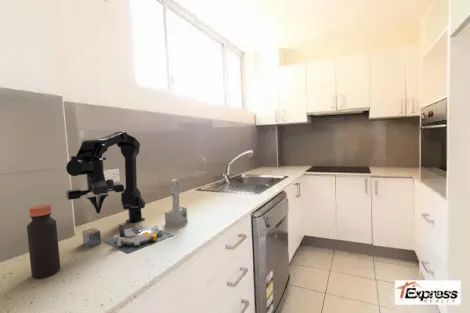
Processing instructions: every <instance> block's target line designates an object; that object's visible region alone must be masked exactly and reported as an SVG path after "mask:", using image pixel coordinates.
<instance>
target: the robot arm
mask: <svg viewBox="0 0 470 313" xmlns="http://www.w3.org/2000/svg"><path fill="white" fill-rule="evenodd" d="M114 145H116V146H117V147H118V148H119V149H120V153H121V155H122V156H123V157H124V172H125V173H124V175H125V176H124V177H125V178H124V179H125V185H124V184H122V183H114V179H112V178H110V179H106V178H105V174H104V173H105V171H104V170H105V169H104V161H106V160H107V158H106V157H105V156H104V155H103V154H105V153H106V152H108V150H109V149H108V148H110V147H112V146H114ZM140 148H141V143H140V142H139V140H138V139H137V138H136V137H134V136H131V135H130V134H128V133H127V132H126V131H116V132H114V133H111V134H108V135H107V136H104V137H101V138H97V139H95V138H94V139H87V140H86V139H85V140H83V141H82V142H81V145H80V147H79V149H78V152H77V153H76V155H73V156H70V160H69V161H68V162H67V164H66V166H65V168H66V169H65V170H66V172H67V173H68V174H69V176H72V177H79V176H85V175H86V186H87V189H85V190H81V189H80V188H76V189H75V188H74V189H67V190H66V191H65V195H66V196H65V198H66V199H67V200H69V201H70V200H77V199H80V198H81V197H82V196H84V198H85V199H86V200H89V202H90V203H91V205H92V207H93V209H94V211H95V213H96V214H97V215H98V214H100V213H101V211H102V210H101V209H102V206H103V205H104V204H103V203H104V201H105V199H106V197H109V195H110V194H109V192H115V193H120V194H121V200H120V201H121V205H122V208H123V210H128V219H126V220H125V222H128V223H131V224H135V223H138V222H141V221H145V220H146V219H145V218H144V217H142V209H145V207H146V202H145V201H144V199H143V198H142V194H141V191H140V190H139V188H138V187H137V186H138V182H137V157H138V155H139V154H140Z"/></svg>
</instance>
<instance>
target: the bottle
mask: <svg viewBox="0 0 470 313" xmlns="http://www.w3.org/2000/svg"><path fill="white" fill-rule="evenodd" d="M51 215H52V206H51V204H42V205H41V204H40V205H36V206H32V207H30V208H29V217H30V219H31V221H30V222H29V223H28V224H27V226H26V231H27V234H26V235H27V241H28V242H27V243H28V244H27V245H28V253H29V262H30V263H29V264H30V272H31V273H30V274H31V278H33V279H36V280H39V279H45V278H49V277H51V276H52V275H53V276H54V275H55V274H56V273H58V272H60V270H61V260H60V259H61V257H60V249H59V238H58V229H57V228H58V227H57V226H58V225H57V221H56V220H55V219H54V218H53V217H51Z"/></svg>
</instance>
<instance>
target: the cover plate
mask: <svg viewBox="0 0 470 313" xmlns="http://www.w3.org/2000/svg"><path fill="white" fill-rule="evenodd" d="M173 236H174V234H172V233H169V232H167V231H163V230H162V234H159V235H158V237H157V239H156V240H154V241H152V240H151V241H149V242H146V243H142V244H140V245H137V246H134V245H122V246H119V245H117V241H114V236H113V237H111V238H108V239H104V240H103V242H104V243H106V244H108V245H109V246H110V245H111V246H112V247H114V248H116V249H118V250H119V251H122V252H124V253H126V254H130V253H133V252H135V251H138V250H140V249H143V248H145V247H146V248H147V246H151V245H153V244H155V243H157V242H160V241H163V240H165V239H168V238H171V237H173Z"/></svg>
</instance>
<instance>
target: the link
mask: <svg viewBox="0 0 470 313" xmlns="http://www.w3.org/2000/svg"><path fill="white" fill-rule="evenodd" d="M82 239H83V240H82V241H83V245H85V246H86V247H88V248H92V247H95V246H98V245H101V244H102V236H101V230H98V229H97V228H95V227H93V228H88V229H85V230H82Z"/></svg>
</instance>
